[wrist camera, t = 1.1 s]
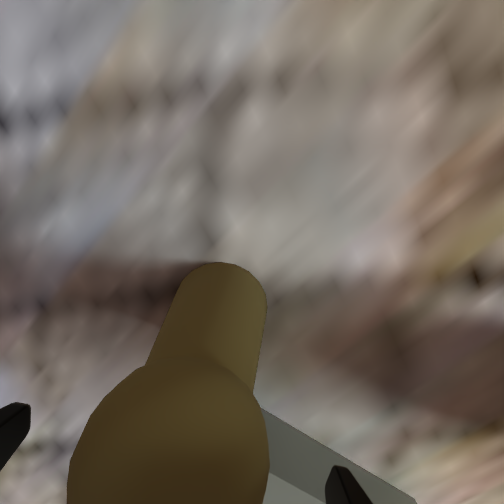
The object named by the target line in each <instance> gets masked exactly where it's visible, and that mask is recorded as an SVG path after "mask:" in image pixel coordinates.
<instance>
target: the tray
mask: <svg viewBox="0 0 504 504" xmlns="http://www.w3.org/2000/svg"><path fill="white" fill-rule="evenodd" d="M261 411H262V414H263V417H264V420H265V425H266V431H267V438H268V444H269V458H270V469H269V475H268V481H267V487H266V492H265V496H264V500H263V504H326V500H325V484H326V481H327V479H328V476H329V474H330V471H331V469H332V467H333V466H334V465H339V466H344V467H347V468H348V469H349V470H350V471H351V473H352V474H353V476H354V477H355V478H356V480H357V481H358V483H359V484H360V486H361V487H362V488H363V490H364V491H365V493H366V494H367V495H368V497H369V498H370V500H371V501H372V503H373V504H417V503H416V501H415V499H413V498H412V497H410V496H408V495H407V494H405V493H403V492H401V491H400V490H398V489H396V488H395V487H393V486H391V485H390V484H388V483H386V482H385V481H383V480H381V479H380V478H378V477H376V476H374V475H373V474H371V473H369V472H368V471H366V470H364V469H363V468H361V467H359V466H358V465H356V464H354V463H352V462H351V461H349V460H347V459H346V458H344V457H342V456H341V455H339V454H337V453H336V452H334V451H332V450H331V449H329V448H327V447H325V446H324V445H322V444H320V443H319V442H317V441H315V440H314V439H312V438H310V437H309V436H307V435H305V434H303V433H302V432H300V431H298V430H297V429H295V428H293V427H292V426H290V425H288V424H287V423H285V422H283V421H282V420H280V419H278V418H276V417H275V416H273V415H271V414H270V413H268V412H266V411H265V410H263V409H261Z"/></svg>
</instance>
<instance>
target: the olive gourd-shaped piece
mask: <svg viewBox="0 0 504 504" xmlns="http://www.w3.org/2000/svg"><path fill="white" fill-rule="evenodd" d="M266 313H267V301H266V294H265V292H264V290H263V288H262V286H261V284H260V282H259V281H258V280H257V279H256V278H255V277H254V276H253V275H252V274H251V273H250V272H249V271H247V270H245V269H243V268H241V267H239V266H237V265H234V264H228V263H222V262H218V263H211V264H205V265H203V266H201V267H199V268H197V269H194V270H192V271H191V272H190V273H189V274H188V275H187V276H186V277H185V278H184V279H183V280H182V282H181V284H180V286H179V288H178V290H177V292H176V295H175V297H174V299H173V301H172V304H171V306H170V308H169V311H168V313H167V315H166V318H165V320H164V322H163V325H162V327H161V329H160V332H159V334H158V336H157V338H156V341H155V343H154V345H153V348H152V350H151V352H150V355H149V357H148V359H147V362H146V364H145V366H143V367H140V368H138V369H136V370H135V371H134V372H132V373H131V374H130V375H129V376H127V377H126V378H125V379H124V380H123V381H121V382H120V383H119V384H118V385H117V386H116V387H115V388H114V389H113V390H112V391H111V392H110V393H109V394H107V395H106V396H105V397H104V398H103V400H102V401H101V402H100V404H99V405H98V406H97V408H96V409H95V410H94V412H93V413H92V414H91V415H90V418H89V420H88V422H87V424H86V426H85V428H84V431H83V433H82V435H81V437H80V439H79V441H78V444H77V446H76V448H75V451H74V453H73V455H72V457H71V460H70V465H69V473H68V482H67V504H263V500H264V496H265V492H266V487H267V481H268V475H269V469H270V458H269V444H268V438H267V431H266V425H265V420H264V417H263V414H262V411H261V408H260V405H259V404H258V402H257V400H256V398H255V397H254V395H253V389H254V383H255V377H256V371H257V366H258V360H259V354H260V348H261V342H262V336H263V331H264V325H265V319H266Z"/></svg>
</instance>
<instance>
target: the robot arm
mask: <svg viewBox="0 0 504 504" xmlns="http://www.w3.org/2000/svg"><path fill="white" fill-rule="evenodd" d="M30 424H31V407H30V405H28V404H24V403H19V402H15V403H11V404H9V405H7V406H5V407H3V408H1V409H0V471H1V470H2V468H3V467H4V466H5V464H6V463H7V462H8V460H9V459H10V457H11V456H12V455H13V453H14V452H15V451H16V449H17V448H18V447H19V445H20V444H21V443H22V441H23V440H24V439H25V437H26V436H27V434H28V432H29V429H30ZM325 500H326V504H373V503H372V501H371V500H370V498H369V497H368V495H367V494H366V493H365V491H364V490H363V488H362V487H361V486H360V484H359V483H358V481H357V480H356V478H355V477H354V476H353V474H352V473H351V471H350V470H349V469H348V468H347V467H344V466H339V465H334V466H333V467H332V469H331V471H330V474H329V476H328V479H327V481H326V484H325Z"/></svg>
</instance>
